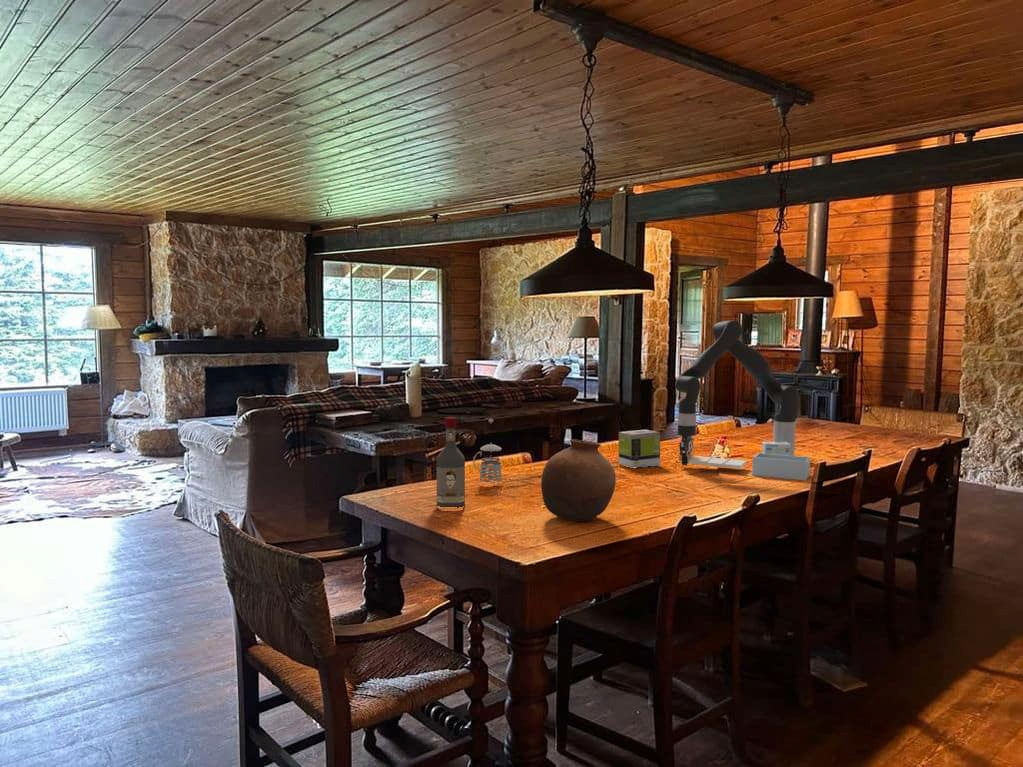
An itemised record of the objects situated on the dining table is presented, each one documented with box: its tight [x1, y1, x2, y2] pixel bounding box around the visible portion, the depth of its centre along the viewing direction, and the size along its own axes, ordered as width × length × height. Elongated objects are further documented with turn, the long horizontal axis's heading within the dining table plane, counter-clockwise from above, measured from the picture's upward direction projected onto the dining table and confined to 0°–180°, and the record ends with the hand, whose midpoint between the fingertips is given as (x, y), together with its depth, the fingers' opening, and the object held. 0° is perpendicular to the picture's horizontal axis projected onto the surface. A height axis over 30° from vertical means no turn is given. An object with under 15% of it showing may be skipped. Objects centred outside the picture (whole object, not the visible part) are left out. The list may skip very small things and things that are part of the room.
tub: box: [751, 452, 811, 481], centre depth 295 cm, size 11×20×8 cm, turn 62°
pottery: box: [540, 438, 617, 522], centre depth 231 cm, size 23×23×25 cm
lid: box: [678, 453, 747, 470], centre depth 308 cm, size 12×26×2 cm, turn 62°
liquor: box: [436, 416, 466, 508], centre depth 244 cm, size 9×9×30 cm
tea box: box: [618, 429, 661, 469], centre depth 317 cm, size 15×10×15 cm, turn 115°
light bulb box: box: [761, 441, 791, 456], centre depth 314 cm, size 11×7×11 cm, turn 84°
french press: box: [472, 418, 502, 483], centre depth 280 cm, size 10×12×25 cm
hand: (686, 463), depth 313 cm, fingers closed on lid, 4 cm apart
